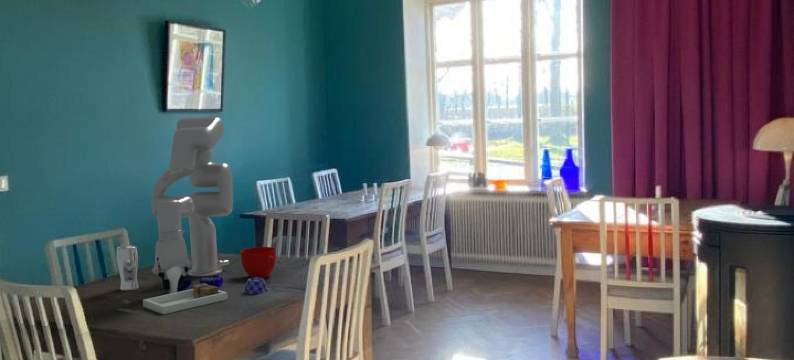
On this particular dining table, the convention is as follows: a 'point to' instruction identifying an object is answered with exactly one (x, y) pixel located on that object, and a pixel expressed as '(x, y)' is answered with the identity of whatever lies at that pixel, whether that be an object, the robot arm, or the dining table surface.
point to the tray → (181, 301)
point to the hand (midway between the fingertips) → (173, 288)
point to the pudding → (255, 286)
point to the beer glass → (127, 267)
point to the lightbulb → (173, 278)
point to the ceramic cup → (258, 261)
